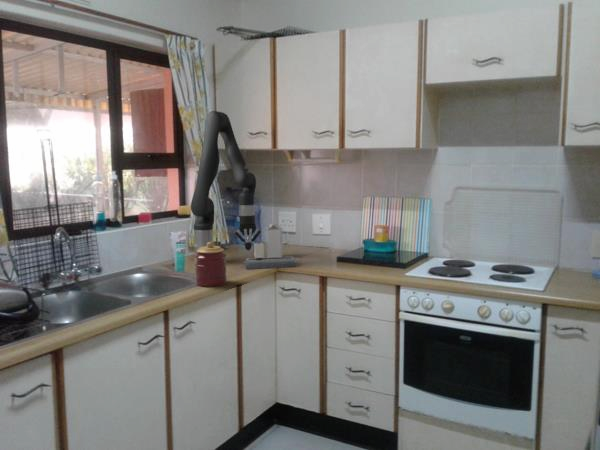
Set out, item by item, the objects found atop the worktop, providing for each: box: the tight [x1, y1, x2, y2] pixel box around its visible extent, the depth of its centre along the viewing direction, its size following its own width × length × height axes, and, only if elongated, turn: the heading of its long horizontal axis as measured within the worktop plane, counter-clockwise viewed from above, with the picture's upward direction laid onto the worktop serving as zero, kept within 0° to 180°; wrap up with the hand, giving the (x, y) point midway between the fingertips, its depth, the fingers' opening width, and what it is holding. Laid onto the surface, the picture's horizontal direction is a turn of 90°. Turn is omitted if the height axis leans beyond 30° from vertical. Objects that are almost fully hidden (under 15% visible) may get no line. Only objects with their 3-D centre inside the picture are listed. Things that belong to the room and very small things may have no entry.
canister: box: [194, 242, 228, 288], centre depth 218 cm, size 13×13×18 cm
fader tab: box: [253, 242, 265, 260], centre depth 253 cm, size 4×5×9 cm
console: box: [243, 255, 297, 270], centre depth 255 cm, size 24×12×4 cm, turn 101°
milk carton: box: [266, 220, 284, 257], centre depth 276 cm, size 7×7×19 cm
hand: (248, 250), depth 252 cm, fingers closed
